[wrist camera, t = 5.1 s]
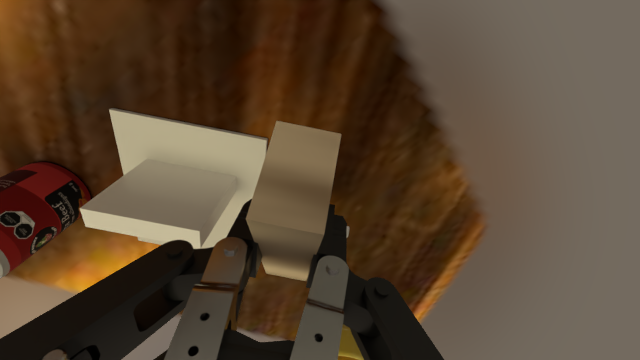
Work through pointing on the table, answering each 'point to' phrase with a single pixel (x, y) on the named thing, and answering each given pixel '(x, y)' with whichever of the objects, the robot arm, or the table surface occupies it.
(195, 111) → the table surface
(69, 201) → the canned food
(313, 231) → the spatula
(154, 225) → the tile
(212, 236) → the mat
